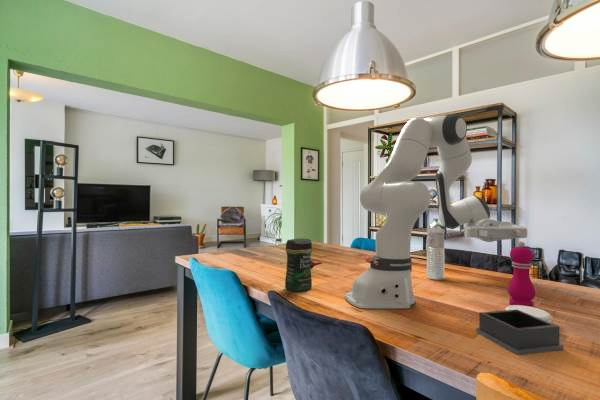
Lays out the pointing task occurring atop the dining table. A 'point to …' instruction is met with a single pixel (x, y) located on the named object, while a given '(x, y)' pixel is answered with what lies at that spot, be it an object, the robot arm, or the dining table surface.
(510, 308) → the coaster
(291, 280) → the coffee jar
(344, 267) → the dining table surface
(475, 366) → the dining table surface
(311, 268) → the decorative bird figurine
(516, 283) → the pepper mill
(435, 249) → the water bottle
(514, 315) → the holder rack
